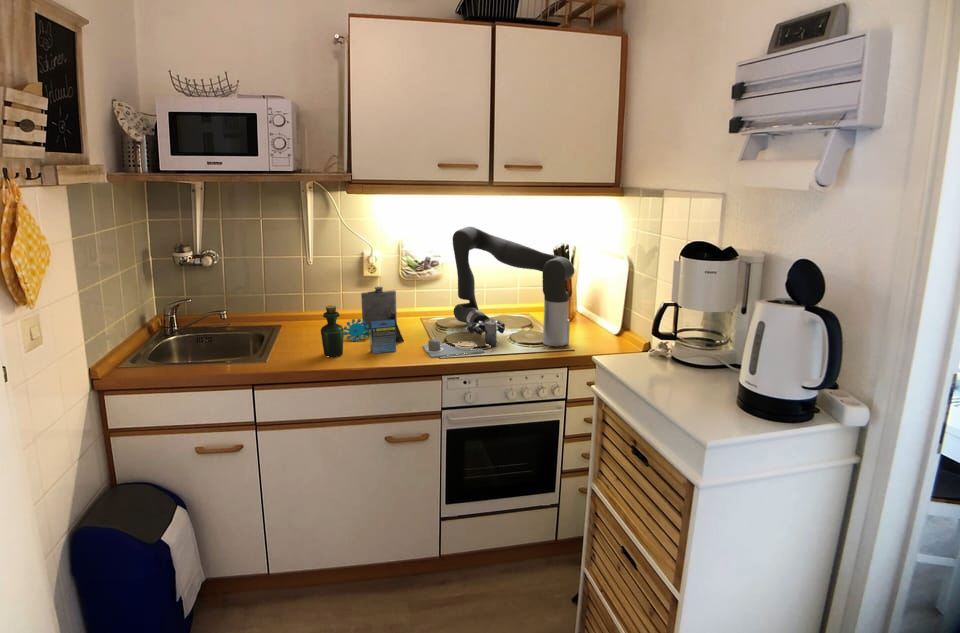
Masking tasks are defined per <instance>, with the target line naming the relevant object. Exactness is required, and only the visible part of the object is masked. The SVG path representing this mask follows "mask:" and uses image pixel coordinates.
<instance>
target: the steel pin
mask: <svg viewBox="0 0 960 633" xmlns="http://www.w3.org/2000/svg"><path fill="white" fill-rule="evenodd" d="M497 321H498V319H497V320H496V319H493V318H491V319H490V318H489V319H488V320H485V332H484V344H485V343H486V344H489V345H491V348H490V349H493V348H497V329H498V328H497Z"/></svg>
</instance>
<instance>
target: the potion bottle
mask: <svg viewBox="0 0 960 633" xmlns="http://www.w3.org/2000/svg"><path fill="white" fill-rule="evenodd" d="M325 311H326V312H323V315H322V317H323V318H325V320H326V322H327V323H326V324H325V325H323V326H322V327H321V328H320V335H321V344H322V348H323V349H322V350H323V356H324V357H326V356H329V357H328V358H331V357H333V358H337V357H336V356H339V357H341V356H342V355H343V354H344V336H345V335H344V331H345V330H344V327H343V326H342V325H341V324H338V323H337V320H338V318H339V317H340V313H339V311H337V306H336V305H327V306H325ZM340 355H341V356H340Z"/></svg>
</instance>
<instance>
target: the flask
mask: <svg viewBox="0 0 960 633" xmlns="http://www.w3.org/2000/svg"><path fill="white" fill-rule="evenodd" d="M383 289H384V287H383V286H375V287H374V290H371V291H367V292H361V294H360V296H361V297H360V298H361V316H362V318H361V323H362V322H363V321H365V322H366V324H362V325H363V326H365V325H368V326H369V328H368V329H367V328H364V329H365V330H370V329H371V321H383V320H384V318H385V314H384V312H385V311H386V310H388V311H389V310H391V311H392V312H393V313H394V314H395V316H396V317H395V320H396V323H397V322H398V320H397V319H398V318H397V317H398V316H397V313H398V312H397V290H393V289H392V290H383ZM389 312H390V311H389ZM390 313H391V312H390ZM390 315H391V314H390ZM390 315H389V316H390ZM382 324H383V323H382ZM382 324H379V325H382ZM397 324H398V323H397Z"/></svg>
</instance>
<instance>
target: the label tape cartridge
mask: <svg viewBox="0 0 960 633" xmlns="http://www.w3.org/2000/svg"><path fill="white" fill-rule="evenodd" d="M382 323H387V325H379V324H382ZM369 336H370V337H369V343H370V344H369V345H370V352H371V353H372V354H373V353H374V354H380V353H382V352H383V353H391V352H392V353H393V352H397V343H396V334H395V320H383V321H371V329H370V335H369Z"/></svg>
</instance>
